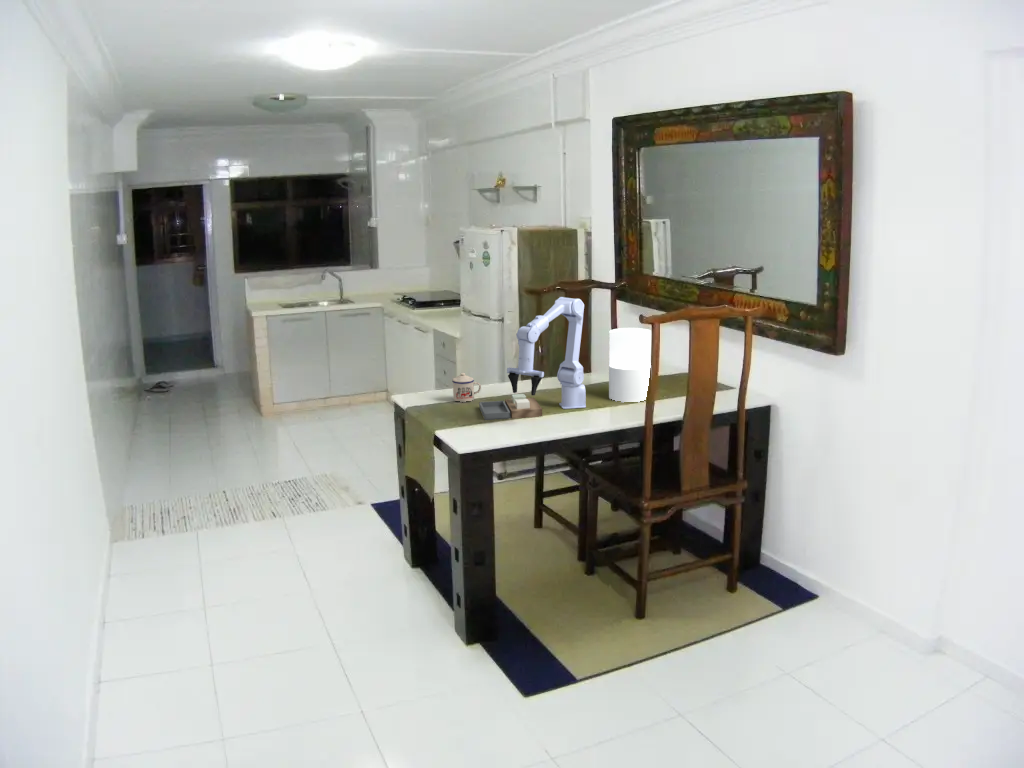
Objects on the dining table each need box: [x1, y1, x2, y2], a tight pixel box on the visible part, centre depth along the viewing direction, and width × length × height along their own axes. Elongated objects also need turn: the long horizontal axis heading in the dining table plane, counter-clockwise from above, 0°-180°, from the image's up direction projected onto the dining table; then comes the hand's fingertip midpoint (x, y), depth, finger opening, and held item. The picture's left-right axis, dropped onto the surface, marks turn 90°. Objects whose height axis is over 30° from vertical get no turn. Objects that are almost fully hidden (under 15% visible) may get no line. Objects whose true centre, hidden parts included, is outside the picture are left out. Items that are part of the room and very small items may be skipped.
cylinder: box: [608, 327, 652, 403], centre depth 349 cm, size 17×17×28 cm
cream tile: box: [515, 399, 530, 409], centre depth 330 cm, size 5×5×2 cm
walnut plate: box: [504, 397, 543, 419], centre depth 335 cm, size 12×18×3 cm, turn 9°
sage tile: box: [511, 393, 527, 404], centre depth 338 cm, size 5×5×2 cm
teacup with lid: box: [452, 372, 482, 403], centre depth 353 cm, size 12×9×12 cm
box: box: [478, 400, 512, 421], centre depth 333 cm, size 10×18×2 cm, turn 9°
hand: (524, 393), depth 320 cm, fingers open, 7 cm apart
